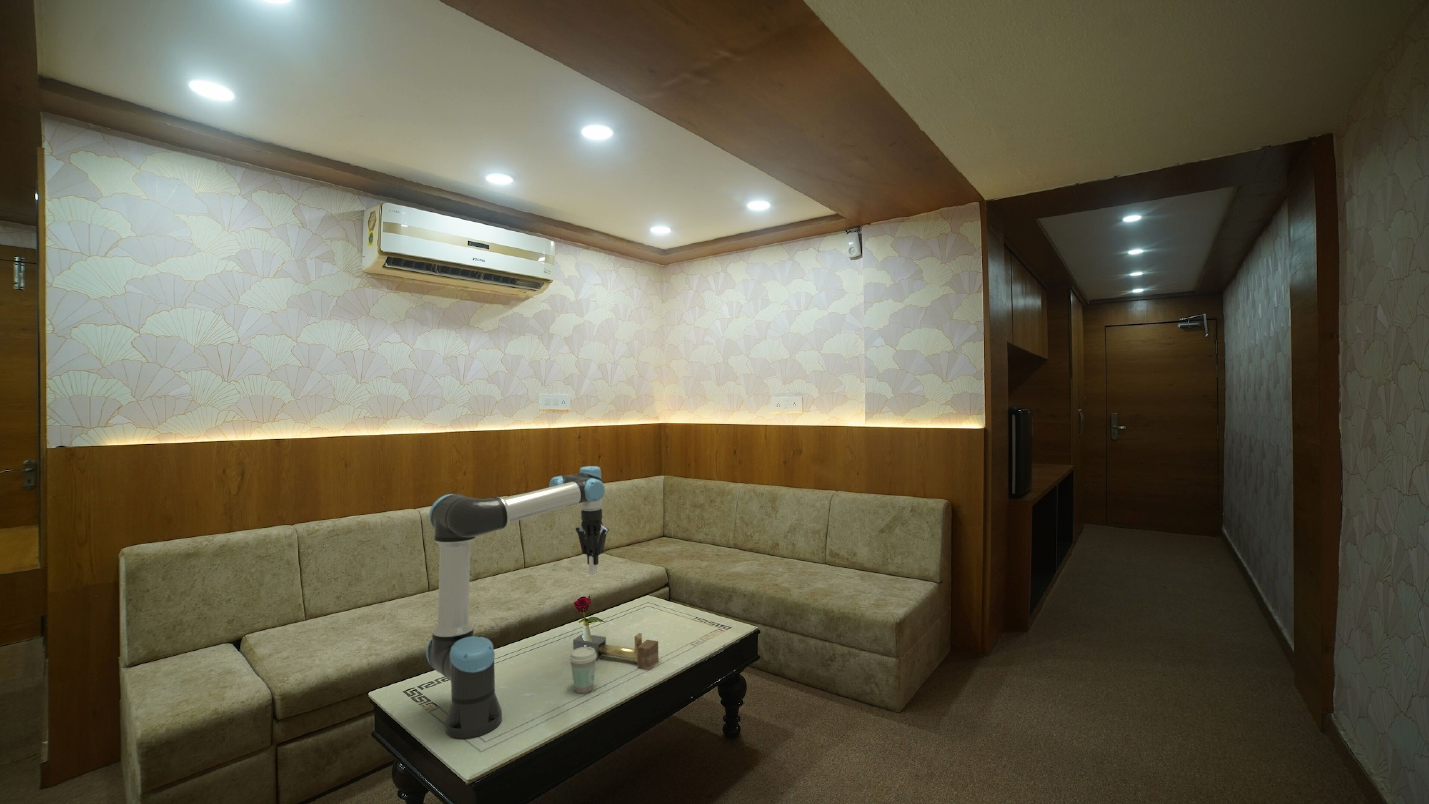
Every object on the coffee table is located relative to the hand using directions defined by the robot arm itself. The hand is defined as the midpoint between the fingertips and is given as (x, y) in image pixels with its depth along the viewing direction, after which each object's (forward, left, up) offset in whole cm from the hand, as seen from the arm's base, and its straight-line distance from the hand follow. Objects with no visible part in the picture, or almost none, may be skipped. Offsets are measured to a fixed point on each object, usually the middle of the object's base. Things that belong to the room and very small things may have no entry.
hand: (593, 573), depth 219 cm
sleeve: (-2, -1, -29) cm, 29 cm away
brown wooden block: (+15, -18, -29) cm, 37 cm away
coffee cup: (-9, -25, -30) cm, 40 cm away
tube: (+6, -9, -28) cm, 30 cm away
